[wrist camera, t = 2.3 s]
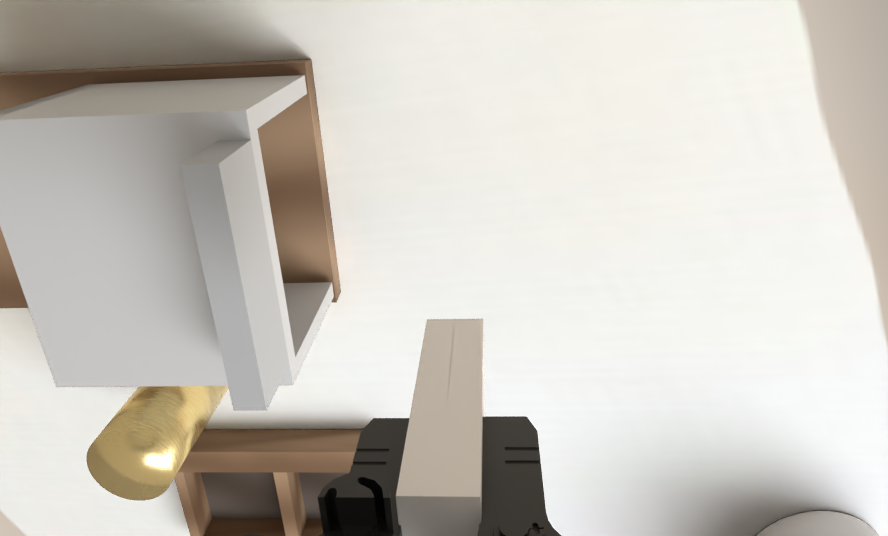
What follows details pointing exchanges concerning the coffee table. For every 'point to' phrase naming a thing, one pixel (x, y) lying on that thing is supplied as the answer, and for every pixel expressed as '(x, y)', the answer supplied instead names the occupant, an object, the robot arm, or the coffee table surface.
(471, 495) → the robot arm
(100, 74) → the pattern board
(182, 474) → the socket block
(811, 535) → the mug
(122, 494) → the peg
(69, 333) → the cover
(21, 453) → the coffee table surface
